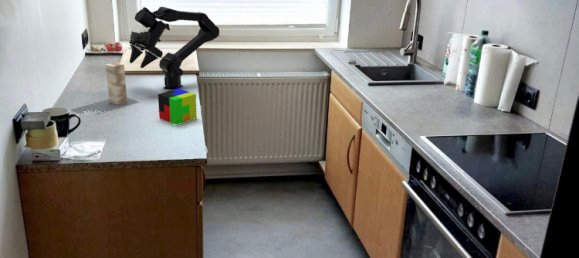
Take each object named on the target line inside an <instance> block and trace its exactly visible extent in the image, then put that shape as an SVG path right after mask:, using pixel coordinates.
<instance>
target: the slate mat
mask: <svg viewBox="0 0 579 258" xmlns="http://www.w3.org/2000/svg"><path fill="white" fill-rule="evenodd" d="M137 103H139V101H138V100H136V99H132V98H130V97H127V102H126V103H122V104H119V105H115V104H113V103H110V102H109V98H107V99H104V100H100V101H96V102H93V103H90V104H85V105H83V106H79V107H75V108H72V109H70V111H71V112H74V113H77V114H79V113H84V112H83V111H87V110H89V111H92V110H93V111H92V112H94V111H95V110H97V111H101V112H103V113H108V112H110V111H114V110H116V109H120V108H124V107H127V106H131V105H135V104H137ZM94 104H95V105H94ZM91 109H92V110H91ZM97 111H96V112H97ZM104 111H105V112H104ZM107 111H108V112H107ZM87 112H88V111H87ZM97 113H98V112H97Z"/></svg>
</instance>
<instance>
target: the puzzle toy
mask: <svg viewBox="0 0 579 258" xmlns="http://www.w3.org/2000/svg"><path fill="white" fill-rule="evenodd" d="M157 100H158V113H159V114H158V115H159V116H158V117H159V118H160V119H159V120H162V119H163V120H162V121H164V120H166V121H165V122H167V121H168V122H167V123H169V122H171V123H170V124H172V123H174V124H179V123H182V122H185V123H187V122H186V121H188V122H190V121H189V120H191V121H193V120H195V119H194V118H196V119H197V116H198V115H197V94H196V93H193V92H191V91H188V90H184V89H182V88H178V89H174V90H173V89H170V90H168V91H164V92H160V93H158V94H157ZM192 119H193V120H192ZM174 124H173V125H174ZM182 124H183V123H182ZM179 125H180V124H179Z"/></svg>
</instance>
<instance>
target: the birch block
mask: <svg viewBox="0 0 579 258" xmlns="http://www.w3.org/2000/svg"><path fill="white" fill-rule="evenodd" d="M125 70H126V69H125V64H124V63H120V62H118V61H115V62H110V63H106V64H105V71H106V82H107V90H108V91H107V92H108V99H109V102H110V103H113V104H115V105H119V104H122V103H126V102H127V98H128V96H127V95H128V94H127V85H126V84H127V83H126V75H125V74H126V73H125Z"/></svg>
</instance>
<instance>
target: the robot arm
mask: <svg viewBox="0 0 579 258" xmlns="http://www.w3.org/2000/svg"><path fill="white" fill-rule="evenodd" d="M134 20H135V21H136V22H137V23H138V24H140V25H141V26H143V27H144V28H145V29H148V30H147V31H143V32H142V31H140V32H137V31H131V33H130V38H129V39H130V40H129V42H128V43H129V46H130V48H131V51H130V52H131V53H130V57H129V63H130V64H133V63H134V62H135V61H136V60H137V59H138V58H139V57H140V56H141V55H143V53H144V57H143V59H142V61H141V64H140V68H141V69H144V68H145V67H147V66H148V65H149V64H151V63H153V62H155V61H156V60H159V59H160V60H159V62H158V63H159V65H158V66H159V69H161V70H162V73H163V74H164V78H163V79H164V80H163V81H164V82H163V83H164V86H163V89H165V90H166V89H167V90H174V89H178V88H179V89H182V88H183V87H184V85H183V84H182V77H181V76H183V74H184V70H183V69H182V68H181V66H182V63H183V61H184V60H186V59H187V58H188V57H190V56H191V55H192V54H193V53H195V51H196V50H198V49H200V48H201V46H203V45H204V44H206V43H208V42H212V41H214V40H215V39H217V38H218V37H219V36H220V28H219V27H218V26H217V25H216V24H215V23H214V21H212V20H211V19H210V18H209V16H208V15H207V13H205V12H200V11H197V12H196V11H195V12H194V11H184V10H177V9H173V8H169V7H165V6H159V8H158V9H157V10H154V11H151V10H150V9H148V8H147V7H146V6H143V7H142V9H140V10H139V11H138V12H136V13H135V16H134ZM178 21H189V22H197V24H198V27H199V30H198V32H197V35H196V36H194V37H193V38H192V39H191V40H190V41H188V42H187V43H186V44H184V45H183V46H182V47H181V48H179V49H178V50H177V51H175V52H174V53H171V52H169V51H168V52H167V53H165V55H164V53H163V50H161V49H159V48H158V47H156V45H157V44H158V42H159V43H161V41H162V40H161V39H160V38H161V37H162V36H163V33H164V32H165V30H167V31H171V27H170V23H173V22H178ZM165 22H166V23H165ZM143 51H144V52H143Z"/></svg>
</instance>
